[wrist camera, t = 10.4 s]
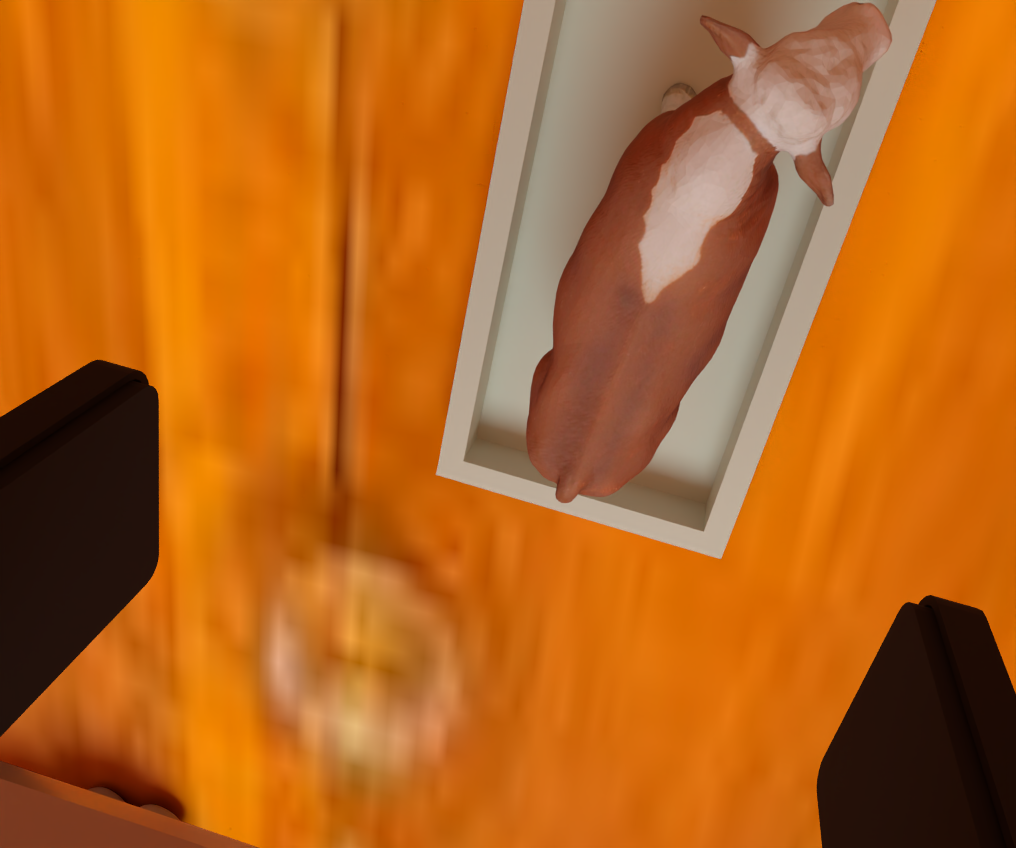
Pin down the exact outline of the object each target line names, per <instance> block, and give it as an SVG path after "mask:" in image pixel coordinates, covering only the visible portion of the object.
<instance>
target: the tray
mask: <svg viewBox="0 0 1016 848" xmlns="http://www.w3.org/2000/svg"><path fill="white" fill-rule="evenodd" d="M852 2H858V3H872V4H874V5H875V6H876V7H877V8H878V9H879V10H880V12H881V13H882V14H883V17H884V19H885V21H886V23H887V25H888V27H889V29H890V32H891V34H892V42H891V45H890V47H889V49H888V51H887V52H886V53H885V54H884V55H883V56H882V57H881V58H880V59H879V60H877V61H876V62H875V63H874V64H872V65H871V66H870V67H869V68H867V69H866V70H865V71H864V72H863V73H862V84H861V90H860V95H859V99H858V102H857V104H856V106H855V107H854V109H853V111H852V112H851V114H850V115H849V116H848V118H847V119H846V120H845V121H844V122H843V123H842V124H841V125H839V126H838V127H836V128H834V129H832V130H830V131H828V132H827V133H825V134H824V135H823V137H822V141H821V154H822V160H823V162H824V164H825V166H826V168H827V170H828V172H829V174H830V176H831V181H832V188H833V194H834V204H833V205H832V206H829V207H828V206H825V205H824V204H822V202H821V201H820V199H819V198H818V196H817V194H816V193H815V192H814V191H813V190H812V189H811V188H810V187H809V186H808V185H807V184H806V183H805V182H804V181H803V180H802V179H801V178H800V177H799V175H798V173H797V171H796V168H795V164H794V161H793V159H792V157H791V155H790V154H789V153H788V152H786V151H780V152H779V153H778V154H777V155H776V157H775V159H774V161H773V163H774V165H775V168H776V170H777V173H778V179H779V187H778V194H777V198H776V203H775V206H774V210H773V213H772V216H771V219H770V222H769V225H768V228H767V231H766V233H765V236H764V238H763V241H762V243H761V246H760V248H759V251H758V253H757V255H756V257H755V258H754V260H753V262H752V264H751V267H750V269H749V272H748V274H747V277H746V279H745V282H744V284H743V286H742V289H741V291H740V293H739V295H738V298H737V300H736V302H735V304H734V306H733V309H732V311H731V314H730V316H729V318H728V321H727V324H726V327H725V331H724V334H723V337H722V340H721V342H720V345H719V346H718V348H717V350H716V352H715V354H714V355H713V357H712V359H711V360H710V361H709V363H708V364H707V365H706V367H705V368H704V369H703V370H702V372H701V373H700V374H699V375H698V376H697V378H696V379H695V380H694V382H693V383H692V384H691V386H690V388H689V389H688V391H687V392H686V394H685V395H684V397H683V398H682V400H681V401H680V406H679V410H678V414H677V417H676V420H675V422H674V423H673V425H672V427H671V429H670V431H669V432H668V433H667V435H666V436H665V437H664V439H663V440H662V442H661V443H660V445H659V447H658V448H657V450H656V452H655V454H654V456H653V458H652V460H651V461H650V463H649V464H648V465H647V467H646V468H645V469H644V470H643V471H641V472H640V473H639V474H638V475H636V476H635V477H634V478H632V479H631V480H630V481H628V482H627V483H626V484H625V485H624V486H623V487H622V488H620V489H619V490H618V491H616V492H615V493H613V494H611V495H609V496H605V497H594V496H586V495H581V494H578V495H577V496H576V497H575V498H574V499H573V500H572V501H571V502H569V503H561V502H559V501H558V500H557V499H556V495H555V493H556V488H557V484H556V483H555V482H552V481H549V480H547V479H546V478H544V477H543V476H542V475H541V474H540V473H539V472H538V470H537V469H536V468H535V467H534V466H533V464H532V463H531V461H530V459H529V455H528V451H527V443H526V428H527V419H528V415H529V404H530V391H531V384H532V379H533V374H534V372H535V369H536V366H537V365H538V363H539V361H540V360H541V359H542V357H543V356H544V355H545V354H546V353H547V352H548V351H550V350H551V349H552V348H553V315H554V306H555V298H556V292H557V288H558V284H559V281H560V278H561V275H562V273H563V270H564V268H565V266H566V264H567V262H568V260H569V258H570V257H571V255H572V254H573V252H574V250H575V248H576V245H577V243H578V241H579V239H580V236H581V234H582V232H583V230H584V228H585V226H586V224H587V222H588V221H589V219H590V217H591V216H592V214H593V213H594V211H595V210H596V208H597V207H598V205H599V203H600V202H601V200H602V198H603V197H604V195H605V193H606V191H607V188H608V186H609V183H610V180H611V178H612V175H613V173H614V171H615V168H616V166H617V164H618V162H619V160H620V158H621V156H622V155H623V153H624V151H625V150H626V148H627V147H628V146H629V144H630V143H631V142H632V141H633V140H634V138H635V137H636V136H637V135H638V133H639V132H640V131H641V130H642V129H643V128H644V127H645V126H646V125H647V124H648V123H649V122H650V121H651V120H653V119H654V118H655V117H657V116H659V115H660V114H661V106H662V99H663V95H664V93H665V92H666V91H667V90H668V89H669V88H670V87H671V86H673V85H674V84H677V83H684V84H687V85H689V86H691V87H692V88H693V89H694V91H695V92H696V94H699V93H700V92H701V91H703V90H704V89H706V88H707V87H709V86H710V85H712V84H713V83H715V82H716V81H718V80H720V79H721V78H724V77H727V76H729V75H731V74H733V69H734V66H733V64H732V62H731V60H730V59H729V58H728V57H727V56H726V55H725V54H724V53H723V52H722V51H721V50H720V49H719V47H718V46H717V44H716V42H715V41H714V39H713V38H712V36H711V34H710V33H709V32H708V31H707V30H706V29H705V28H704V27H703V26H702V25H701V24H700V17H701V16H702V15H703V16H708V17H711V18H713V19H715V20H717V21H720V22H722V23H725V24H727V25H730V26H733V27H735V28H738V29H740V30H742V31H744V32H746V33H747V34H749V35H750V36H751V37H752V38H753V39H754V40H755V41H756V42H757V43H758V44H759V45H760V47H761V48H763V49H764V48H768V47H770V46H772V45H774V44H775V43H777V42H778V41H779V40H781V39H782V38H783V37H785V36H787V35H789V34H791V33H793V32H805V31H808V30H810V29H812V28H815V27H816V26H818V25H819V23H820V22H821V21H822V20H823V19H824V18H825V17H826V16H827V15H829V14H830V13H832V12H833V11H835V10H837V9H838V8H840V7H842V6H843V5H846V4H849V3H852ZM935 3H936V0H524V3H523V9H522V14H521V20H520V25H519V30H518V36H517V41H516V47H515V52H514V57H513V63H512V68H511V74H510V79H509V84H508V90H507V95H506V101H505V106H504V111H503V117H502V122H501V128H500V133H499V138H498V144H497V149H496V155H495V160H494V165H493V171H492V176H491V182H490V187H489V192H488V198H487V203H486V209H485V214H484V219H483V225H482V230H481V236H480V241H479V246H478V252H477V257H476V263H475V268H474V273H473V279H472V284H471V290H470V295H469V301H468V306H467V311H466V317H465V322H464V328H463V333H462V338H461V344H460V349H459V355H458V360H457V365H456V371H455V376H454V382H453V387H452V392H451V398H450V403H449V409H448V414H447V419H446V425H445V430H444V436H443V441H442V446H441V452H440V457H439V463H438V468H437V473H436V475H439V476H442V477H445V478H449V479H452V480H456V481H459V482H462V483H466V484H469V485H473V486H476V487H479V488H483V489H486V490H489V491H493V492H496V493H500V494H503V495H506V496H510V497H513V498H516V499H520V500H523V501H527V502H530V503H533V504H537V505H540V506H543V507H547V508H550V509H554V510H557V511H560V512H564V513H567V514H570V515H574V516H577V517H581V518H584V519H587V520H591V521H594V522H597V523H601V524H604V525H608V526H611V527H614V528H618V529H621V530H624V531H628V532H631V533H635V534H638V535H641V536H645V537H648V538H651V539H655V540H658V541H662V542H665V543H668V544H672V545H675V546H678V547H682V548H685V549H689V550H692V551H695V552H699V553H702V554H706V555H709V556H712V557H716V558H719V559H721V558H722V555H723V553H724V550H725V547H726V545H727V542H728V540H729V537H730V534H731V532H732V529H733V527H734V524H735V521H736V519H737V516H738V514H739V511H740V508H741V506H742V503H743V501H744V498H745V495H746V493H747V490H748V488H749V485H750V482H751V480H752V477H753V475H754V472H755V469H756V467H757V464H758V462H759V459H760V457H761V454H762V451H763V449H764V446H765V444H766V441H767V438H768V436H769V433H770V431H771V428H772V425H773V423H774V420H775V418H776V415H777V412H778V410H779V407H780V405H781V402H782V399H783V397H784V394H785V392H786V389H787V386H788V384H789V381H790V379H791V376H792V374H793V371H794V368H795V366H796V363H797V361H798V358H799V355H800V353H801V350H802V348H803V345H804V342H805V340H806V337H807V335H808V332H809V329H810V327H811V324H812V322H813V319H814V316H815V314H816V311H817V309H818V306H819V303H820V301H821V298H822V296H823V293H824V291H825V288H826V285H827V283H828V280H829V278H830V275H831V272H832V270H833V267H834V265H835V262H836V259H837V257H838V254H839V252H840V249H841V246H842V244H843V241H844V239H845V236H846V233H847V231H848V228H849V226H850V223H851V220H852V218H853V215H854V213H855V210H856V208H857V205H858V202H859V200H860V197H861V195H862V192H863V189H864V187H865V184H866V182H867V179H868V176H869V174H870V171H871V169H872V166H873V163H874V161H875V158H876V156H877V153H878V150H879V148H880V145H881V143H882V140H883V137H884V135H885V132H886V130H887V127H888V125H889V122H890V119H891V117H892V114H893V112H894V109H895V106H896V104H897V101H898V99H899V96H900V93H901V91H902V88H903V86H904V83H905V80H906V78H907V75H908V73H909V70H910V67H911V65H912V62H913V60H914V57H915V54H916V52H917V49H918V47H919V44H920V42H921V39H922V36H923V34H924V31H925V29H926V26H927V23H928V21H929V18H930V16H931V13H932V10H933V8H934V5H935Z"/></svg>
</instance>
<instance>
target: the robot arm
mask: <svg viewBox="0 0 1016 848" xmlns="http://www.w3.org/2000/svg"><path fill="white" fill-rule="evenodd" d="M158 557H159V400H158V393H157V391H156V389H155V388H154V387H153V386H149V383H148V380H147V377H146V375H145V374H144V373H143V372H141V371H138V370H135V369H131V368H128V367H124V366H121V365H117V364H113V363H110V362H106V361H103V360H95V361H92V362H90V363H88V364H87V365H85V366H83V367H82V368H80V369H79V370H77V371H75V372H74V373H72V374H70V375H69V376H67V377H65V378H64V379H62V380H61V381H59V382H57V383H56V384H54V385H52V386H51V387H49V388H47V389H46V390H44V391H43V392H41V393H39V394H38V395H36V396H34V397H33V398H31V399H29V400H28V401H26V402H24V403H23V404H21V405H20V406H18V407H16V408H15V409H13V410H11V411H10V412H8V413H6V414H5V415H3V416H2V417H0V737H1V736H2V735H3V733H4V732H5V731H6V730H7V729H8V728H9V727H10V726H11V725H12V724H13V723H14V722H15V721H16V720H17V719H18V718H19V717H20V716H21V715H22V714H23V713H24V712H25V710H26V709H27V708H28V707H29V706H30V705H31V704H32V703H33V702H34V701H35V700H36V699H37V698H38V697H39V696H40V695H41V694H42V693H43V692H44V691H45V690H46V689H47V688H48V686H49V685H50V684H51V683H52V682H53V681H54V680H55V679H56V678H57V677H58V676H59V675H60V674H61V673H62V672H63V671H64V670H65V669H66V668H67V667H68V666H69V665H70V663H71V662H72V661H73V660H74V659H75V658H76V657H77V656H78V655H79V654H80V653H81V652H82V651H83V650H84V649H85V648H86V647H87V646H88V645H89V644H90V643H91V642H92V640H93V639H94V638H95V637H96V636H97V635H98V634H99V633H100V632H101V631H102V630H103V629H104V628H105V627H106V626H107V625H108V624H109V623H110V622H111V621H112V620H113V619H114V618H115V616H116V615H117V614H118V613H119V612H120V611H121V610H122V609H123V608H124V607H125V606H126V605H127V604H128V603H129V602H130V601H131V600H132V599H133V598H134V597H135V596H136V595H137V593H138V592H139V591H140V590H141V589H142V588H143V587H144V586H145V585H146V584H147V583H148V581H149V580H150V579H151V577H152V575H153V574H154V571H155V569H156V566H157V562H158ZM817 799H818V809H819V819H820V829H821V839H822V848H1016V693H1015V691H1014V688H1013V686H1012V683H1011V680H1010V678H1009V675H1008V673H1007V670H1006V667H1005V665H1004V662H1003V660H1002V657H1001V655H1000V652H999V649H998V647H997V644H996V642H995V639H994V636H993V634H992V631H991V629H990V626H989V623H988V621H987V618H986V616H985V614H984V613H983V611H982V610H980V609H978V608H974V607H971V606H967V605H963V604H960V603H956V602H953V601H949V600H946V599H942V598H939V597H935V596H932V595H929V596H926V597H924V598H923V599H922V600H921V601H920V603H919V604H914V603H911V602H908V603H905V604H904V605H903V606H902V607H901V609H900V611H899V612H898V614H897V616H896V618H895V620H894V622H893V624H892V626H891V628H890V630H889V632H888V633H887V635H886V637H885V639H884V641H883V643H882V645H881V647H880V649H879V651H878V653H877V655H876V657H875V659H874V661H873V663H872V664H871V666H870V668H869V670H868V672H867V674H866V676H865V678H864V680H863V682H862V684H861V686H860V688H859V690H858V692H857V694H856V696H855V697H854V699H853V701H852V703H851V705H850V707H849V709H848V711H847V713H846V715H845V717H844V719H843V721H842V723H841V725H840V727H839V728H838V730H837V732H836V734H835V736H834V738H833V740H832V742H831V744H830V746H829V748H828V750H827V752H826V754H825V756H824V758H823V760H822V762H821V765H820V769H819V773H818V778H817ZM0 848H258V847H255V846H252V845H249V844H246V843H243V842H241V841H238V840H235V839H232V838H229V837H226V836H223V835H220V834H217V833H214V832H211V831H208V830H205V829H202V828H199V827H196V826H193V825H190V824H188V823H185V822H182V821H179V820H176V819H173V818H170V817H167V816H164V815H161V814H158V813H155V812H152V811H149V810H146V809H143V808H140V807H137V806H134V805H131V804H128V803H125V802H122V801H119V800H116V799H113V798H110V797H107V796H104V795H101V794H98V793H95V792H92V791H89V790H86V789H83V788H80V787H77V786H74V785H71V784H68V783H65V782H62V781H59V780H56V779H53V778H50V777H47V776H44V775H41V774H38V773H35V772H32V771H29V770H26V769H23V768H20V767H17V766H14V765H11V764H8V763H5V762H2V761H0Z"/></svg>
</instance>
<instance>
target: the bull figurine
mask: <svg viewBox="0 0 1016 848" xmlns="http://www.w3.org/2000/svg"><path fill="white" fill-rule="evenodd" d="M700 24H701V25H702V26H703V27H704V28H705V29H706V30H707V31H708V32H709V33H710V34H711V36H712V38H713V39H714V41H715V42H716V44H717V46H718V47H719V49H720V50H721V51H722V52H723V53H724V54H725V55H726V56H727V57H728V58H729V59H730V60H731V62H732V64H733V66H734V69H733V74H731V75H729V76H727V77H724V78H721V79H720V80H718V81H716V82H715V83H713V84H712V85H710V86H709V87H707V88H706V89H704V90H703V91H701V92H700V93H699V94H696V92H695V91H694V89H693V88H692V87H691V86H689V85H687V84H684V83H677V84H674V85H673V86H671V87H670V88H669V89H668V90H667V91H666V92H665V93H664V95H663V99H662V106H661V114H660V115H659V116H657V117H655V118H654V119H653V120H651V121H650V122H649V123H648V124H647V125H646V126H645V127H644V128H643V129H642V130H641V131H640V132H639V133H638V135H637V136H636V137H635V138H634V140H633V141H632V142H631V143H630V144H629V146H628V147H627V148H626V150H625V151H624V153H623V155H622V156H621V158H620V160H619V162H618V164H617V166H616V168H615V171H614V173H613V175H612V178H611V180H610V183H609V186H608V188H607V191H606V193H605V195H604V197H603V198H602V200H601V202H600V203H599V205H598V207H597V208H596V210H595V211H594V213H593V214H592V216H591V217H590V219H589V221H588V222H587V224H586V226H585V228H584V230H583V232H582V234H581V236H580V239H579V241H578V243H577V245H576V248H575V250H574V252H573V254H572V255H571V257H570V258H569V260H568V262H567V264H566V266H565V268H564V270H563V273H562V275H561V278H560V281H559V284H558V288H557V292H556V298H555V306H554V315H553V348H552V349H551V350H550V351H548V352H547V353H546V354H545V355H544V356H543V357H542V359H541V360H540V361H539V363H538V365H537V366H536V369H535V372H534V374H533V379H532V384H531V391H530V404H529V415H528V419H527V428H526V443H527V451H528V455H529V459H530V461H531V463H532V464H533V466H534V467H535V468H536V469H537V470H538V472H539V473H540V474H541V475H542V476H543V477H544V478H546V479H547V480H549V481H552V482H555V483H556V484H557V488H556V493H555V495H556V499H557V500H558V501H559V502H561V503H569V502H571V501H572V500H573V499H574V498H575V497H576V496H577V495H578V494H581V495H586V496H594V497H605V496H609V495H611V494H613V493H615V492H616V491H618V490H619V489H620V488H622V487H623V486H624V485H625V484H626V483H627V482H628V481H630V480H631V479H632V478H634V477H635V476H636V475H638V474H639V473H640V472H641V471H643V470H644V469H645V468H646V467H647V465H648V464H649V463H650V461H651V460H652V458H653V456H654V454H655V452H656V450H657V448H658V447H659V445H660V443H661V442H662V440H663V439H664V437H665V436H666V435H667V433H668V432H669V431H670V429H671V427H672V425H673V423H674V422H675V420H676V417H677V414H678V410H679V406H680V401H681V400H682V398H683V397H684V395H685V394H686V392H687V391H688V389H689V388H690V386H691V384H692V383H693V382H694V380H695V379H696V378H697V376H698V375H699V374H700V373H701V372H702V370H703V369H704V368H705V367H706V365H707V364H708V363H709V361H710V360H711V359H712V357H713V355H714V354H715V352H716V350H717V348H718V346H719V345H720V342H721V340H722V337H723V334H724V331H725V327H726V324H727V321H728V318H729V316H730V314H731V311H732V309H733V306H734V304H735V302H736V300H737V298H738V295H739V293H740V291H741V289H742V286H743V284H744V282H745V279H746V277H747V274H748V272H749V269H750V267H751V264H752V262H753V260H754V258H755V257H756V255H757V253H758V251H759V248H760V246H761V243H762V241H763V238H764V236H765V233H766V231H767V228H768V225H769V222H770V219H771V216H772V213H773V210H774V206H775V203H776V198H777V194H778V187H779V179H778V173H777V170H776V168H775V165H774V163H773V161H774V159H775V157H776V155H777V154H778V153H779V152H780V151H786V152H788V153H789V154H790V155H791V157H792V159H793V161H794V164H795V168H796V171H797V173H798V175H799V177H800V178H801V179H802V180H803V181H804V182H805V183H806V184H807V185H808V186H809V187H810V188H811V189H812V190H813V191H814V192H815V193H816V194H817V196H818V198H819V199H820V201H821V202H822V204H824V205H825V206H828V207H829V206H832V205H833V204H834V194H833V188H832V181H831V176H830V174H829V172H828V170H827V168H826V166H825V164H824V162H823V160H822V154H821V141H822V137H823V135H824V134H825V133H827V132H828V131H830V130H832V129H834V128H836V127H838V126H839V125H841V124H842V123H843V122H844V121H845V120H846V119H847V118H848V116H849V115H850V114H851V112H852V111H853V109H854V107H855V106H856V104H857V102H858V99H859V95H860V90H861V84H862V73H863V72H864V71H865V70H866V69H867V68H869V67H870V66H871V65H872V64H874V63H875V62H876V61H877V60H879V59H880V58H881V57H882V56H883V55H884V54H885V53H886V52H887V51H888V49H889V47H890V45H891V42H892V34H891V32H890V29H889V27H888V25H887V23H886V21H885V19H884V17H883V14H882V13H881V12H880V10H879V9H878V8H877V7H876V6H875V5H874V4H872V3H858V2H852V3H849V4H846V5H843V6H842V7H840V8H838V9H837V10H835V11H833V12H832V13H830V14H829V15H827V16H826V17H825V18H824V19H823V20H822V21H821V22H820V23H819V25H818V26H816V27H815V28H812V29H810V30H808V31H805V32H793V33H791V34H789V35H787V36H785V37H783V38H782V39H781V40H779V41H778V42H777V43H775V44H774V45H772V46H770V47H768V48H764V49H763V48H761V47H760V45H759V44H758V43H757V42H756V41H755V40H754V39H753V38H752V37H751V36H750V35H749V34H747V33H746V32H744V31H742V30H740V29H738V28H735V27H733V26H730V25H727V24H725V23H722V22H720V21H717V20H715V19H713V18H711V17H708V16H703V15H702V16H701V17H700Z"/></svg>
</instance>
